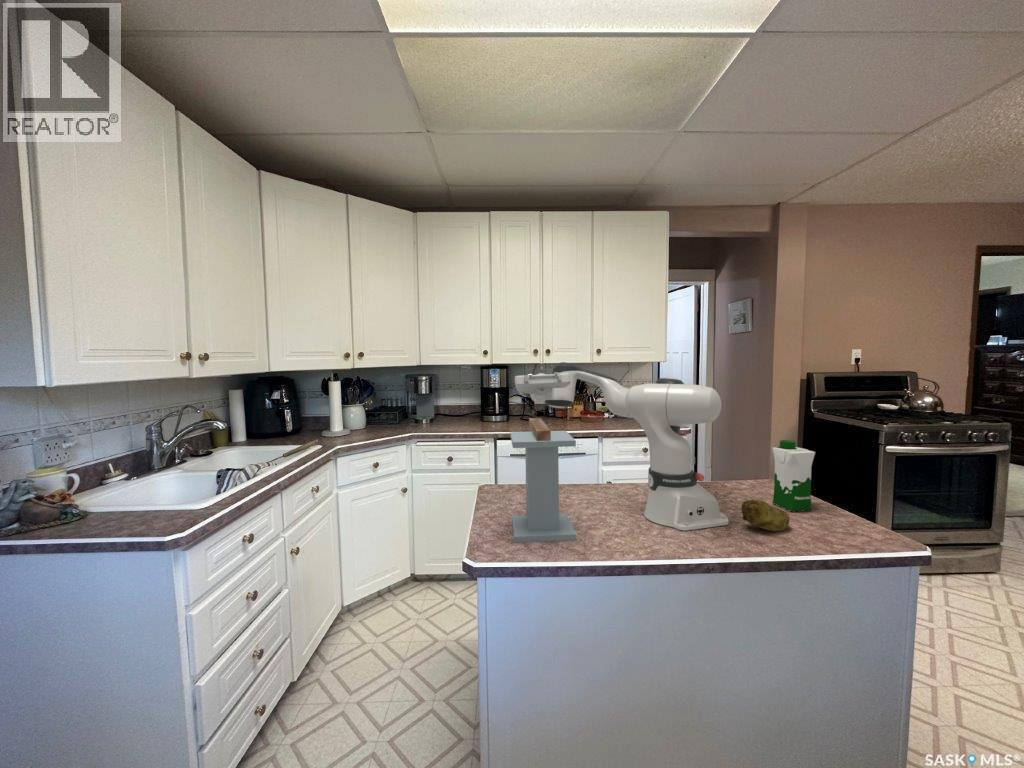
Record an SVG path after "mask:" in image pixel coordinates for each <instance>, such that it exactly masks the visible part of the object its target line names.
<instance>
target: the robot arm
mask: <svg viewBox="0 0 1024 768" xmlns="http://www.w3.org/2000/svg"><path fill="white" fill-rule="evenodd" d="M578 380H580V381H583V382H588V383H591V384H595V385H597V386H598V387H599V388H600V389H601V392H602V395H603V398H604V402H605V405H606V407H607V409H608V411H610V413H612V415H616V416H618V417H623V418H631V419H632V418H633V419H634V420H635V421H636V422H637V423H638V424H639V425H640V427H641V428H642V429H643V431H644V433H645V435H646V438H647V442H648V447H649V467H648V474H647V483H648V488H649V489H648V496H647V501H646V505H645V508H644V513H643V515H644V517H645V518H646V519H647V520H649V521H651V522H652V523H654V524H657V525H661V526H665V527H672V528H674V529H676V530H680V531H684V532H685V531H691V530H692V531H693V530H699V529H707V528H714V527H715V528H716V527H720V526H728V525H729V523H730V522H729V521H730V520H729V518H728V516H727V515H726V514H724V513H723V512H722V511H720V506H719V502H718V500H717V498H716V497H715V496H714V495H713V494H712V493H711V492H709V491H708V490H706V489H705V488H704V487H703V486H702V485H700V484H699V483H698V482H701V483H702V482H703V481H704V480H705V476H704V474H702V473H700V472H696V471H694V470H692V446H691V444H690V442H689V441H688V440H687V439H686V438H685V437H684V436H682V435H680V431H681V425H685V426H686V425H688V426H689V425H697V424H698V425H699V424H708V423H709V424H711V423H713V422H714V421H715V420H717V418H718V417H719V416H720V413H721V411H722V399H721V396H720V394H719V393H718V392H717V390H716V389H715V388H714V387H710V386H706V385H699V384H692V383H691V384H690V383H689V384H687V383H684V382H683V381H682V380H680V379H679V378H677V377H673V376H665V377H660V378H658V379H657V380H656V381H655V383H641V384H636V385H632V386H631V387H630V388H627V387H625V386H622V385H621V384H620V383H619V381H618V379H615V378H614V377H613V376H609V375H607V374H604V373H600V372H596V371H593V370H590V369H586V368H583V367H580V366H577V365H575V364H572V363H570V362H564V361H561V362H559V363H558V364H556V365H555V366H554V367H553V368H552V372H551V374H548V373H547V374H546V373H543V372H542V373H537V374H532V373H527V374H526V375H516V376H515V375H514V386H515V389H516V390H517V391H518V393H519V395H520V396H521V395H524V396H529V397H530V398H531V400H532V402H535V403H536V404H539V405H540V404H541V405H543V404H545V405H546V406H547V407H548V408H552V409H555V410H556V409H557V410H566V409H567V408H569V407H571V406H572V405H573V404H574V400H575V393H576V385H577V384H576V383H577V381H578Z"/></svg>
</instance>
